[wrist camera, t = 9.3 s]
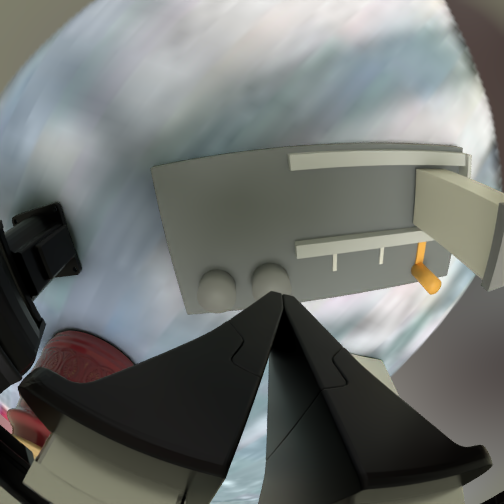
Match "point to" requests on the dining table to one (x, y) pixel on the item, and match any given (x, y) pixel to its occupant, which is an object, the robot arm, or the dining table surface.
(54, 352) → the canister
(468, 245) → the fader tab
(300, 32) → the dining table surface
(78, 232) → the dining table surface
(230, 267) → the console
